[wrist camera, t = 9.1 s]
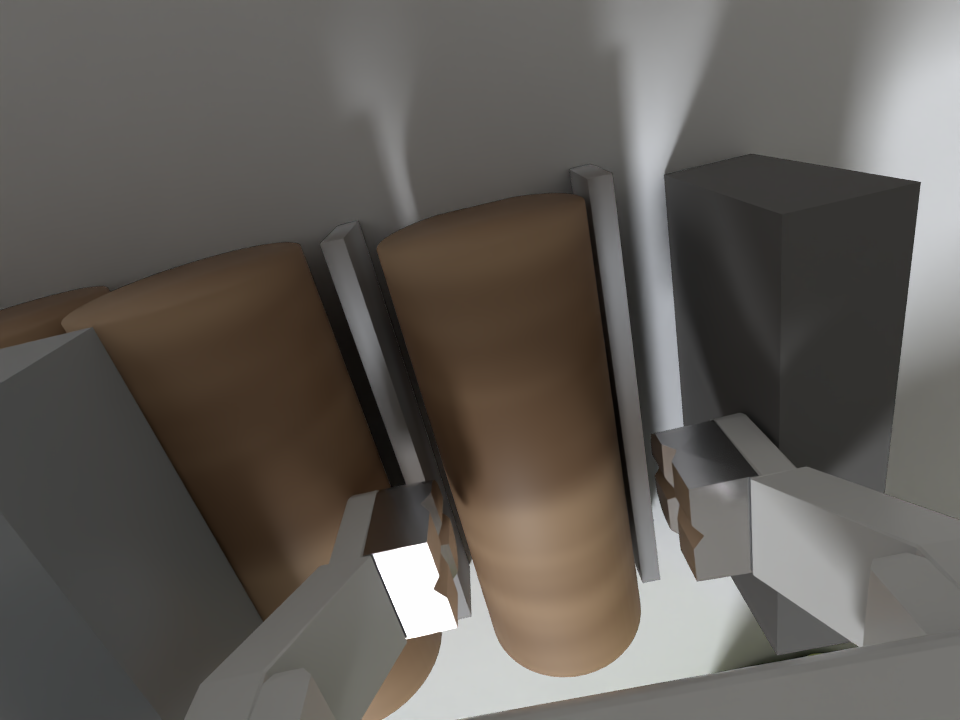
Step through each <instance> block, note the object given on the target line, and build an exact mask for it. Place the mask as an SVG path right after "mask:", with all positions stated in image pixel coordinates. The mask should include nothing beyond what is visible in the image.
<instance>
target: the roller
mask: <svg viewBox="0 0 960 720" xmlns="http://www.w3.org/2000/svg"><path fill="white" fill-rule="evenodd" d="M377 253H378V256H379V260H380V263H381V266H382V269H383V273H384V276H385V279H386V282H387V285H388V289H389V292H390V295H391V298H392V302H393V305H394V308H395V311H396V314H397V318H398V321H399V324H400V327H401V331H402V334H403V337H404V340H405V343H406V347H407V350H408V353H409V356H410V360H411V363H412V366H413V369H414V372H415V376H416V379H417V382H418V385H419V389H420V392H421V395H422V398H423V401H424V405H425V408H426V411H427V414H428V418H429V421H430V424H431V427H432V430H433V434H434V437H435V440H436V443H437V447H438V450H439V453H440V456H441V459H442V463H443V466H444V469H445V472H446V476H447V479H448V482H449V485H450V489H451V492H452V495H453V498H454V501H455V505H456V508H457V511H458V514H459V518H460V521H461V524H462V527H463V530H464V534H465V537H466V540H467V543H468V547H469V550H470V553H471V556H472V559H473V563H474V566H475V569H476V572H477V576H478V579H479V582H480V585H481V588H482V592H483V595H484V598H485V601H486V605H487V608H488V611H489V614H490V617H491V621H492V624H493V627H494V630H495V633H496V636H497V638H498V641H499V642H500V644H501V646H502V647H503V649H504V650H505V651H506V652H507V654H508V655H509V656H510V657H511V658H513V659H514V660H515V661H516V662H517V663H519V664H520V665H522V666H523V667H525V668H527V669H529V670H531V671H534V672H537V673H540V674H542V675H548V676H553V677H575V676H580V675H586V674H589V673H592V672H595V671H597V670H599V669H601V668H603V667H606V666H607V665H609V664H610V663H612V662H613V661H615V660H616V659H617V658H618V657H619V656H620V655H622V654H623V652H624V651H625V650H626V649H627V648H628V647H629V645H630V644H631V642H632V640H633V639H634V637H635V635H636V632H637V630H638V626H639V623H640V616H641V607H640V598H639V590H638V583H637V576H636V569H635V561H634V554H633V547H632V539H631V532H630V525H629V518H628V510H627V503H626V496H625V488H624V481H623V474H622V467H621V459H620V452H619V445H618V437H617V430H616V423H615V416H614V408H613V401H612V394H611V386H610V379H609V372H608V365H607V357H606V350H605V343H604V335H603V328H602V321H601V314H600V306H599V299H598V292H597V284H596V277H595V270H594V263H593V255H592V248H591V241H590V233H589V226H588V219H587V212H586V204H585V200H584V198H582V197H581V196H578V195H574V194H567V193H544V194H533V195H524V196H517V197H512V198H507V199H503V200H499V201H495V202H491V203H486V204H482V205H478V206H474V207H469V208H465V209H461V210H457V211H453V212H448V213H444V214H440V215H436V216H433V217H431V218H428V219H425V220H422V221H419V222H417V223H414V224H412V225H409V226H407V227H405V228H403V229H401V230H399V231H397V232H395V233H393V234H391V235H389V236H388V237H386V238H385V239H384V240H382V241H381V242H380V243H379V244H378V246H377Z"/></svg>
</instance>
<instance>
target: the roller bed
mask: <svg viewBox="0 0 960 720" xmlns="http://www.w3.org/2000/svg"><path fill="white" fill-rule="evenodd" d="M569 171H570V178H571V184H572V191H573V194H574V195H578V196H581V197H582V198H584V200H585V204H586V212H587V219H588V226H589V233H590V241H591V248H592V255H593V263H594V270H595V277H596V284H597V292H598V299H599V306H600V314H601V321H602V328H603V335H604V343H605V350H606V357H607V365H608V372H609V379H610V386H611V394H612V401H613V408H614V416H615V423H616V430H617V437H618V445H619V452H620V459H621V467H622V474H623V481H624V488H625V496H626V503H627V510H628V518H629V525H630V532H631V539H632V547H633V554H634V561H635V565H636V567H637V570H638V572H639V575H640V577H641V580H642V582H643V583H645V582H650V581H655V580H660V574H659V565H658V557H657V548H656V540H655V531H654V523H653V514H652V506H651V497H650V489H649V480H648V472H647V463H646V455H645V446H644V438H643V429H642V421H641V412H640V404H639V395H638V387H637V378H636V370H635V361H634V353H633V344H632V336H631V327H630V319H629V310H628V302H627V293H626V285H625V276H624V268H623V259H622V251H621V242H620V234H619V225H618V216H617V208H616V199H615V191H614V182H613V174H612V173H611V172H608V171H606V170H604V169H601V168H599V167H597V166H595V165H592V164H588V165H584V166H580V167H576V168H572V169H569ZM320 246H321V249H322V252H323V255H324V257H325V260H326V263H327V266H328V268H329V271H330V274H331V277H332V280H333V282H334V285H335V288H336V291H337V294H338V296H339V299H340V302H341V305H342V307H343V310H344V313H345V316H346V319H347V321H348V324H349V327H350V330H351V333H352V335H353V338H354V341H355V344H356V347H357V349H358V352H359V355H360V358H361V360H362V363H363V366H364V369H365V372H366V374H367V377H368V380H369V383H370V386H371V388H372V391H373V394H374V397H375V399H376V402H377V405H378V408H379V411H380V413H381V416H382V419H383V422H384V425H385V427H386V430H387V433H388V436H389V439H390V441H391V444H392V447H393V450H394V452H395V455H396V458H397V461H398V464H399V466H400V469H401V472H402V475H403V478H404V480H405V483H406V485H407V484H412V483H417V482H422V481H428V480H433V479H434V480H435V481H436V482H437V483H438V486H439V489H440V491H441V494H442V497H443V510H442V513H443V514H445V515H446V516H448V517H449V518H450V521H451V524H452V527H453V531H454V535H455V540H456V546H457V554H458V573H457V574H456V576H455V577H454V579H453V580H454V583H455V586H456V589H457V592H458V619H462V618H467V617H471V589H470V566H469V563H468V560H467V557H466V553H465V550H464V547H463V544H462V541H461V538H460V535H459V532H458V529H457V525H456V522H455V519H454V516H453V513H452V510H451V507H450V504H449V501H448V497H447V494H446V491H445V488H444V485H443V482H442V479H441V476H440V473H439V470H438V466H437V463H436V460H435V457H434V454H433V451H432V448H431V445H430V442H429V438H428V435H427V432H426V429H425V426H424V423H423V420H422V417H421V414H420V410H419V407H418V404H417V401H416V398H415V395H414V392H413V389H412V386H411V382H410V379H409V376H408V373H407V370H406V367H405V364H404V361H403V358H402V354H401V351H400V348H399V345H398V342H397V339H396V336H395V333H394V330H393V327H392V323H391V320H390V317H389V314H388V311H387V308H386V305H385V302H384V299H383V295H382V292H381V289H380V286H379V283H378V280H377V277H376V274H375V271H374V267H373V264H372V261H371V258H370V255H369V252H368V249H367V246H366V243H365V239H364V236H363V233H362V230H361V227H360V224H359V221H355V222H350V223H346V224H342V225H338V226H337V227H336V228H335V229H334V230H333V231H332V232H331V233H330V234H329V235H328V236H327V237H326V238H325V239H324V240H323V241H322V242H321V243H320ZM90 327H93V328H94V330H95V332H96V334H97V335H98V337H99V339H100V341H101V342H102V344H103V346H104V347H105V349H106V351H107V353H108V354H109V356H110V358H111V360H112V361H113V363H114V365H115V366H116V368H117V370H118V372H119V373H120V375H121V377H122V379H123V380H124V382H125V384H126V385H127V387H128V389H129V391H130V392H131V394H132V396H133V398H134V399H135V401H136V403H137V404H138V406H139V408H140V410H141V411H142V413H143V415H144V417H145V418H146V420H147V422H148V424H149V425H150V427H151V429H152V430H153V432H154V434H155V436H156V437H157V439H158V441H159V443H160V444H161V446H162V448H163V449H164V451H165V453H166V455H167V456H168V458H169V460H170V462H171V463H172V465H173V467H174V468H175V470H176V472H177V474H178V475H179V477H180V479H181V481H182V482H183V484H184V486H185V487H186V489H187V491H188V493H189V494H190V496H191V498H192V500H193V501H194V503H195V505H196V506H197V508H198V510H199V512H200V513H201V515H202V517H203V519H204V520H205V522H206V524H207V525H208V527H209V529H210V531H211V532H212V534H213V536H214V538H215V539H216V541H217V543H218V544H219V546H220V548H221V550H222V551H223V553H224V555H225V557H226V558H227V560H228V562H229V563H230V565H231V567H232V569H233V570H234V572H235V574H236V576H237V577H238V579H239V581H240V582H241V584H242V586H243V588H244V589H245V591H246V593H247V595H248V596H249V598H250V600H251V601H252V603H253V605H254V607H255V608H256V610H257V612H258V614H259V615H260V617H261V619H262V620H263V622H264V621H265V620H266V619H267V618H268V617H269V616H270V615H271V614H272V613H273V612H274V611H275V610H276V609H277V608H278V607H279V606H280V605H281V604H282V603H283V602H284V601H285V600H286V599H287V598H288V597H289V596H290V595H291V594H292V593H293V592H294V591H295V590H296V589H297V588H298V587H299V586H300V585H301V584H302V583H303V582H304V581H305V580H306V579H307V578H308V577H309V576H310V575H311V574H312V573H313V572H314V571H315V570H316V569H317V568H318V567H319V566H322V565H326V564H329V561H330V558H331V554H332V551H333V548H334V544H335V541H336V537H337V534H338V531H339V527H340V524H341V521H342V517H343V514H344V511H345V507H346V504H347V501H348V499H349V498H350V497H351V496H352V495H356V494H361V493H366V492H371V491H375V490H378V491H379V490H380V489H386V488H391V486H390V483H389V480H388V478H387V475H386V472H385V470H384V467H383V464H382V462H381V459H380V456H379V453H378V451H377V448H376V445H375V443H374V440H373V437H372V435H371V432H370V429H369V427H368V424H367V421H366V419H365V416H364V413H363V411H362V408H361V405H360V403H359V400H358V397H357V395H356V392H355V389H354V387H353V384H352V381H351V379H350V376H349V373H348V371H347V368H346V365H345V363H344V360H343V357H342V355H341V352H340V349H339V347H338V344H337V341H336V339H335V336H334V333H333V331H332V328H331V325H330V323H329V320H328V317H327V315H326V312H325V309H324V307H323V304H322V301H321V299H320V296H319V293H318V291H317V288H316V285H315V283H314V280H313V277H312V275H311V272H310V269H309V267H308V264H307V261H306V259H305V256H304V253H303V251H302V248H301V245H300V244H298V243H293V242H282V243H272V244H265V245H260V246H254V247H249V248H244V249H240V250H236V251H231V252H227V253H224V254H220V255H216V256H212V257H209V258H205V259H202V260H198V261H195V262H192V263H188V264H185V265H182V266H179V267H176V268H173V269H170V270H167V271H164V272H161V273H158V274H155V275H152V276H149V277H147V278H144V279H141V280H139V281H136V282H133V283H131V284H128V285H126V286H123V287H121V288H118V289H116V290H114V291H111V292H110V291H109V289H108V287H105V286H96V287H88V288H82V289H77V290H72V291H68V292H63V293H59V294H55V295H51V296H47V297H44V298H40V299H36V300H33V301H29V302H26V303H22V304H19V305H16V306H12V307H9V308H6V309H3V310H0V349H2V348H6V347H11V346H15V345H19V344H23V343H27V342H32V341H36V340H40V339H44V338H48V337H53V336H57V335H61V334H65V333H69V332H73V331H78V330H82V329H86V328H90ZM441 636H442V631H440V632H436V633H431V634H427V635H422V636H418V637H413V638H409V639H406V640H407V643H406V645H405V647H404V648H403V650H402V652H401V653H400V655H399V657H398V658H397V660H396V662H395V663H394V665H393V667H392V669H391V670H390V672H389V674H388V675H387V677H386V679H385V680H384V682H383V684H382V685H381V687H380V689H379V690H378V692H377V694H376V695H375V697H374V699H373V700H372V702H371V704H370V705H369V707H368V709H367V711H366V712H365V714H364V716H363V717H362V719H361V720H382V719H384V718H385V717H387V716H389V715H390V714H392V713H393V712H395V711H396V710H397V709H399V708H400V707H401V706H402V705H403V704H405V703H406V702H407V701H408V700H409V699H410V698H411V697H412V696H413V695H414V694H415V693H416V692H417V690H418V689H419V688H420V687H421V685H422V684H423V683H424V681H425V680H426V678H427V677H428V675H429V674H430V672H431V670H432V668H433V666H434V664H435V661H436V659H437V656H438V653H439V649H440V645H441Z"/></svg>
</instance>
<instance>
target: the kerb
mask: <svg viewBox="0 0 960 720" xmlns="http://www.w3.org/2000/svg"><path fill="white" fill-rule="evenodd" d="M664 180H665V192H666V205H667V218H668V231H669V243H670V256H671V269H672V282H673V294H674V307H675V320H676V333H677V345H678V358H679V371H680V384H681V396H682V409H683V422H684V426H689V425H693V424H698V423H702V422H706V421H710V420H712V419H716V418H720V417H724V416H728V415H732V414H736V413H743V414H746V415H747V416H748V417H749V418H750V420H751V421H752V422H753V423H754V424H755V425H756V426H757V427H758V428H759V429H760V430H761V431H762V432H763V433H764V434H765V435H766V436H767V437H768V438H769V439H770V441H771V442H772V443H773V444H774V445H775V446H776V447H777V448H778V449H779V450H780V451H781V452H782V453H783V454H784V455H785V456H786V457H787V458H788V459H789V460H790V461H791V463H792V464H793V465H794V466H795V467H796V468H802V467H810V468H812V469H815V470H818V471H821V472H824V473H827V474H830V475H832V476H835V477H838V478H841V479H844V480H847V481H850V482H853V483H855V484H858V485H861V486H864V487H867V488H870V489H873V490H875V491H878V492H881V493H884V492H885V483H886V475H887V466H888V458H889V449H890V441H891V432H892V423H893V415H894V406H895V398H896V389H897V381H898V372H899V364H900V355H901V347H902V338H903V329H904V321H905V312H906V304H907V295H908V287H909V278H910V270H911V261H912V253H913V244H914V235H915V227H916V218H917V210H918V201H919V193H920V184H921V182H917V181H911V180H905V179H899V178H893V177H887V176H881V175H875V174H869V173H863V172H857V171H851V170H845V169H839V168H833V167H827V166H821V165H815V164H809V163H803V162H797V161H791V160H785V159H779V158H773V157H766V156H760V155H754V154H749V155H745V156H741V157H737V158H732V159H728V160H724V161H720V162H716V163H712V164H707V165H703V166H699V167H695V168H691V169H687V170H682V171H678V172H674V173H670V174H666V175H664ZM731 578H732V579H733V581H734V583H735V584H736V586H737V588H738V590H739V591H740V593H741V595H742V596H743V598H744V600H745V602H746V603H747V605H748V607H749V608H750V610H751V612H752V614H753V615H754V617H755V619H756V620H757V622H758V624H759V625H760V627H761V629H762V631H763V632H764V634H765V636H766V637H767V639H768V641H769V643H770V644H771V646H772V648H773V649H774V651H775V653H776V655H782V654H787V653H793V652H798V651H803V650H809V649H814V648H820V647H825V646H830V645H836V644H841V643H846V642H851V641H850V640H848V639H847V638H845V637H844V636H842V635H841V634H839V633H838V632H836V631H835V630H833V629H832V628H830V627H829V626H827V625H826V624H825V623H823V622H822V621H820V620H819V619H817V618H816V617H814V616H813V615H811V614H810V613H808V612H807V611H805V610H804V609H802V608H801V607H799V606H798V605H797V604H795V603H794V602H792V601H791V600H789V599H788V598H786V597H785V596H783V595H782V594H780V593H779V592H777V591H776V590H774V589H773V588H771V587H770V586H768V585H767V584H766V583H764V582H763V581H761V580H760V579H758V578H757V577H755V576H754V575H753V572H752V573H746V574H740V575H734V576H731Z"/></svg>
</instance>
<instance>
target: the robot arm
mask: <svg viewBox="0 0 960 720" xmlns="http://www.w3.org/2000/svg"><path fill="white" fill-rule="evenodd" d="M651 449H652V455H653V457H654V459H655V460H656V462H657V464H658V466H659V469H658V471H657V472H656V474H655V481H656V488H657V493H658V497H659V501H660V505H661V508H662V511H663V513H664V516H665V519H666V521H667V523H668V525H669V527H670V529H671V530H672V531H674V532H676V533H678V534H679V538H680V547H681V551H682V553H683V555H684V557H685V559H686V561H687V563H688V565H689V567H690V569H691V571H692V573H693V574H694V576H695V578H696V580H697V581H703V580H710V579H716V578H722V577H728V576H734V575H740V574H746V573H752V572H753V575H754V576H755V577H757V578H758V579H760V580H761V581H763V582H764V583H766V584H767V585H768V586H770V587H771V588H773V589H774V590H776V591H777V592H779V593H780V594H782V595H783V596H785V597H786V598H788V599H789V600H791V601H792V602H794V603H795V604H797V605H798V606H799V607H801V608H802V609H804V610H805V611H807V612H808V613H810V614H811V615H813V616H814V617H816V618H817V619H819V620H820V621H822V622H823V623H825V624H826V625H827V626H829V627H830V628H832V629H833V630H835V631H836V632H838V633H839V634H841V635H842V636H844V637H845V638H847V639H848V640H850V641H851V642H853V643H854V644H856V645H857V646H858V647H856V648H851V649H845V650H840V651H834V652H829V653H823V654H818V655H812V656H806V657H801V658H795V659H790V660H784V661H779V662H773V663H768V664H762V665H756V666H751V667H745V668H740V669H734V670H729V671H723V672H718V673H712V674H706V675H701V676H695V677H690V678H684V679H679V680H673V681H668V682H662V683H657V684H651V685H645V686H640V687H634V688H629V689H623V690H618V691H612V692H607V693H601V694H596V695H590V696H585V697H579V698H574V699H568V700H563V701H557V702H551V703H546V704H540V705H535V706H529V707H524V708H518V709H513V710H507V711H502V712H496V713H491V714H485V715H480V716H474V717H469V718H463V719H457V720H960V520H958V519H956V518H953V517H950V516H947V515H944V514H941V513H938V512H936V511H933V510H930V509H927V508H924V507H921V506H918V505H916V504H913V503H910V502H907V501H904V500H901V499H898V498H895V497H893V496H890V495H887V494H884V493H881V492H878V491H875V490H873V489H870V488H867V487H864V486H861V485H858V484H855V483H853V482H850V481H847V480H844V479H841V478H838V477H835V476H832V475H830V474H827V473H824V472H821V471H818V470H815V469H812V468H810V467H802V468H796V467H795V466H794V465H793V464H792V463H791V461H790V460H789V459H788V458H787V457H786V456H785V455H784V454H783V453H782V452H781V451H780V450H779V449H778V448H777V447H776V446H775V445H774V444H773V443H772V442H771V441H770V439H769V438H768V437H767V436H766V435H765V434H764V433H763V432H762V431H761V430H760V429H759V428H758V427H757V426H756V425H755V424H754V423H753V422H752V421H751V420H750V418H749V417H748V416H747V415H746V414H743V413H736V414H732V415H728V416H724V417H720V418H716V419H712V420H710V421H706V422H702V423H698V424H693V425H689V426H684V427H680V428H675V429H671V430H666V431H662V432H657V433H653V434H651ZM442 510H443V497H442V494H441V491H440V489H439V486H438V483H437V482H436V481H435V480H434V479H433V480H428V481H422V482H417V483H412V484H407V485H401V486H396V487H391V488H386V489H380V490H379V491H378V490H375V491H371V492H366V493H361V494H356V495H352V496H351V497H350V498H349V499H348V501H347V504H346V507H345V511H344V514H343V517H342V521H341V524H340V527H339V531H338V534H337V537H336V541H335V544H334V548H333V551H332V554H331V558H330V561H329V564H326V565H322V566H319V567H318V568H317V569H316V570H315V571H314V572H313V573H312V574H311V575H310V576H309V577H308V578H307V579H306V580H305V581H304V582H303V583H302V584H301V585H300V586H299V587H298V588H297V589H296V590H295V591H294V592H293V593H292V594H291V595H290V596H289V597H288V598H287V599H286V600H285V601H284V602H283V603H282V604H281V605H280V606H279V607H278V608H277V609H276V610H275V611H274V612H273V613H272V614H271V615H270V616H269V617H268V618H267V619H266V620H265V621H264V622H263V623H262V624H261V625H260V626H259V627H258V628H257V629H256V630H255V631H254V632H253V633H252V634H251V635H250V636H249V637H248V638H247V639H246V640H245V641H244V642H243V643H242V644H241V645H240V646H239V647H238V648H237V649H236V650H235V651H234V652H233V653H232V654H231V655H230V656H229V657H228V658H227V659H225V660H224V661H223V662H222V663H221V664H220V665H219V666H218V667H217V668H216V669H215V670H214V671H213V672H212V673H211V674H210V675H209V676H208V677H207V678H206V679H205V680H204V681H203V682H202V683H201V684H200V686H199V688H198V690H197V692H196V695H195V697H194V699H193V701H192V703H191V705H190V708H189V710H188V712H187V714H186V716H185V718H184V720H361V719H362V717H363V716H364V714H365V712H366V711H367V709H368V707H369V705H370V704H371V702H372V700H373V699H374V697H375V695H376V694H377V692H378V690H379V689H380V687H381V685H382V684H383V682H384V680H385V679H386V677H387V675H388V674H389V672H390V670H391V669H392V667H393V665H394V663H395V662H396V660H397V658H398V657H399V655H400V653H401V652H402V650H403V648H404V647H405V645H406V643H407V640H406V639H409V638H413V637H418V636H422V635H427V634H431V633H436V632H440V631H445V630H449V629H454V628H458V592H457V589H456V586H455V583H454V580H453V579H454V577H455V576H456V574H457V573H458V554H457V546H456V540H455V535H454V531H453V527H452V524H451V521H450V518H449V517H448V516H446V515H445V514H443V513H442Z"/></svg>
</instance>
